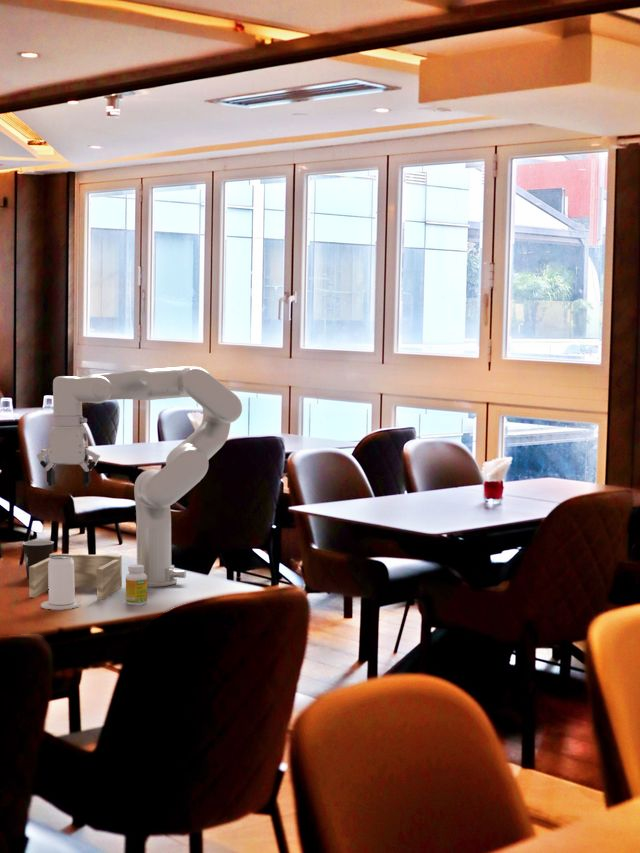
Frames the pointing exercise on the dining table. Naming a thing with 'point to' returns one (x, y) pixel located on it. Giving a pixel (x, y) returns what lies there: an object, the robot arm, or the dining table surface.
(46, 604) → the coaster
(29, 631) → the dining table surface
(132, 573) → the supplement bottle
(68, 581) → the can
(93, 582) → the wooden arch stand
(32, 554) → the coffee mug
